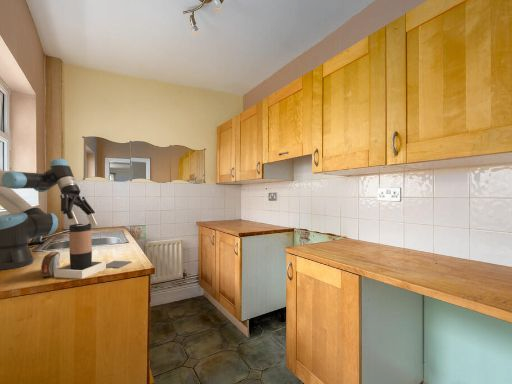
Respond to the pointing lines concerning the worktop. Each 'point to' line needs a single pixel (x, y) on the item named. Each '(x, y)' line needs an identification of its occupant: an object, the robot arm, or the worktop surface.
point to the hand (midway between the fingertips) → (85, 225)
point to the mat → (117, 264)
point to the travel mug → (80, 246)
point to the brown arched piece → (50, 264)
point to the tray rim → (79, 271)
